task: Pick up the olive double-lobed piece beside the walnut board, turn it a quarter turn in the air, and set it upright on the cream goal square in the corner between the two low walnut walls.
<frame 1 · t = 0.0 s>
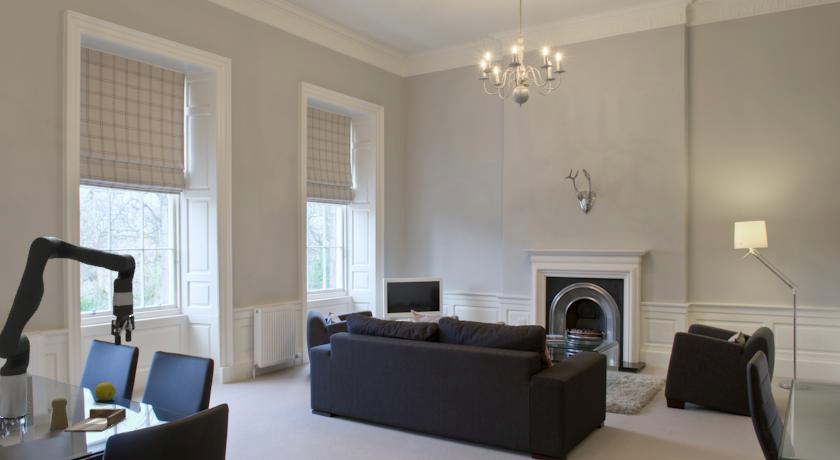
hand: (123, 343, 250), 29 cm above the table, tool pointing down, fingers open, 8 cm apart
lemon: (105, 400, 274), on the table
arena: (96, 424, 238), on the table
olive double-lobed piece: (59, 428, 235), on the table
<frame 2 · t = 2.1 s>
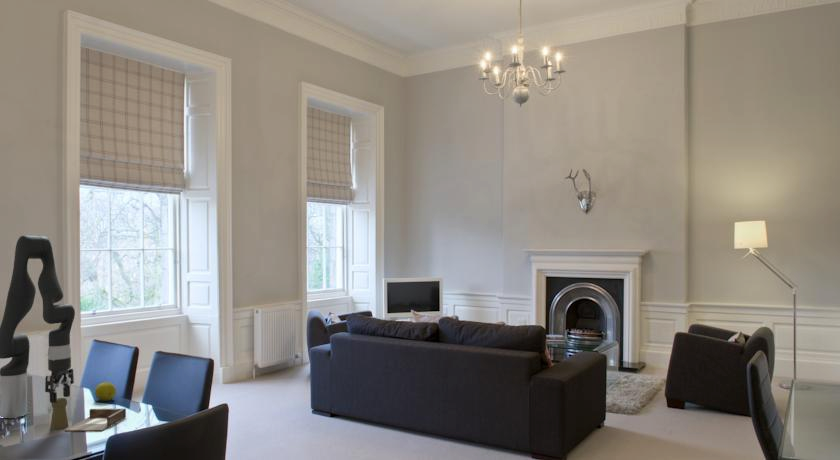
hand: (60, 399, 235), 11 cm above the table, tool pointing down, fingers open, 8 cm apart
nothing on the table moved.
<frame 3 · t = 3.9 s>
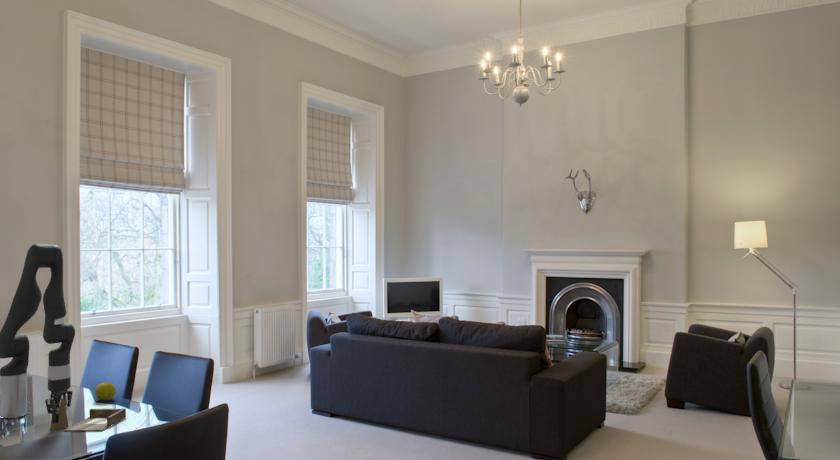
hand: (59, 421, 235), 2 cm above the table, tool pointing down, fingers closed on olive double-lobed piece, 4 cm apart
olive double-lobed piece: (59, 428, 235), on the table, touching gripper
everything else where it was.
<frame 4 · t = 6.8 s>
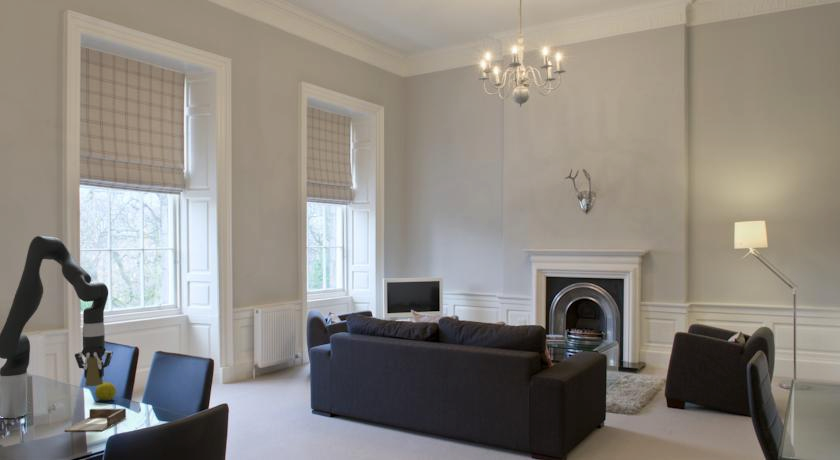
hand: (94, 378, 239), 18 cm above the table, tool pointing down, fingers closed on olive double-lobed piece, 4 cm apart
olive double-lobed piece: (94, 384, 239), point 15 cm above the table, touching gripper
everything else where it was.
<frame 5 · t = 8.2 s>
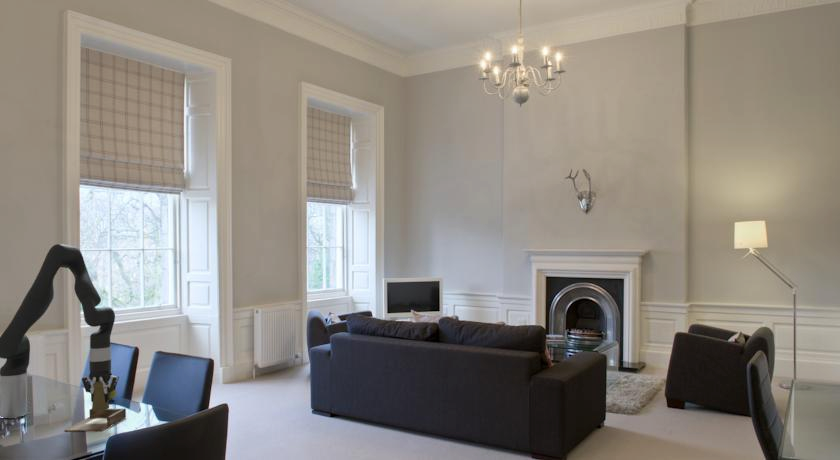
hand: (100, 402, 241), 8 cm above the table, tool pointing down, fingers closed on olive double-lobed piece, 4 cm apart
olive double-lobed piece: (100, 409, 240), point 5 cm above the table, touching gripper
everything else where it was.
when the fingers open (4 cm above the table, at t = 9.7 s): olive double-lobed piece drops 1 cm, resting on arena.
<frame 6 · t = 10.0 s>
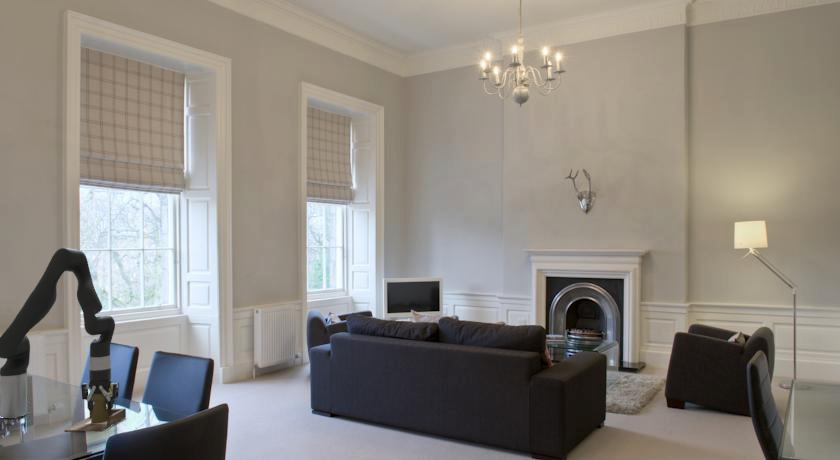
hand: (100, 410, 240), 5 cm above the table, tool pointing down, fingers open, 6 cm apart
olive double-lobed piece: (99, 421, 240), resting on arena
everything else where it was.
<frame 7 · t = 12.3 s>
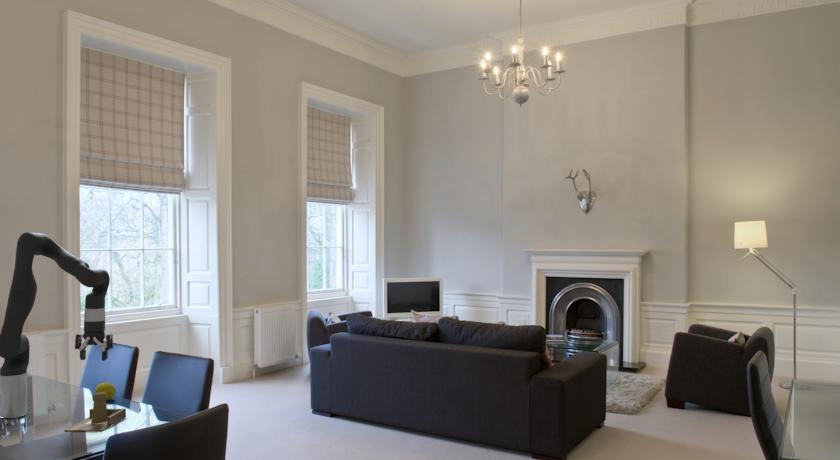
hand: (93, 360, 246), 23 cm above the table, tool pointing down, fingers open, 8 cm apart
nothing on the table moved.
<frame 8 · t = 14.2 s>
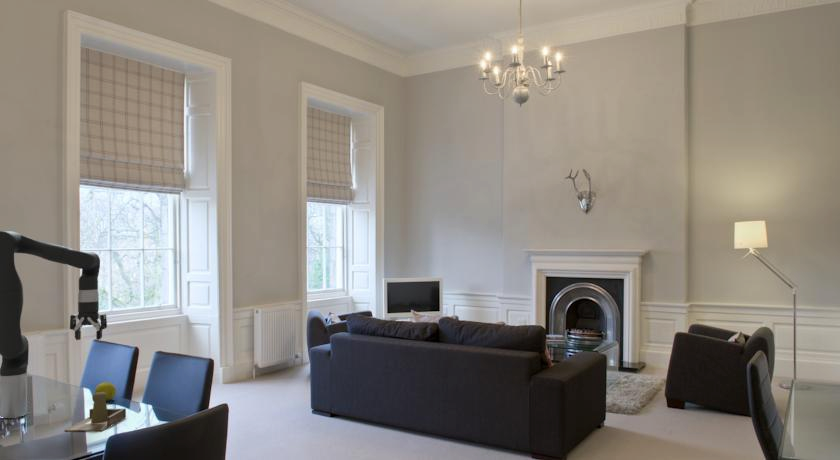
hand: (88, 339, 255), 30 cm above the table, tool pointing down, fingers open, 8 cm apart
nothing on the table moved.
at the end: olive double-lobed piece 0.2 cm from the target spot on the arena, point 0.5 cm above the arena's base; olive double-lobed piece tilted 0°; the gripper is holding nothing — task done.
